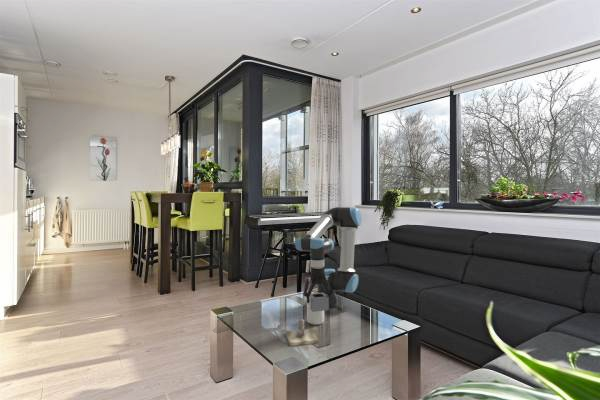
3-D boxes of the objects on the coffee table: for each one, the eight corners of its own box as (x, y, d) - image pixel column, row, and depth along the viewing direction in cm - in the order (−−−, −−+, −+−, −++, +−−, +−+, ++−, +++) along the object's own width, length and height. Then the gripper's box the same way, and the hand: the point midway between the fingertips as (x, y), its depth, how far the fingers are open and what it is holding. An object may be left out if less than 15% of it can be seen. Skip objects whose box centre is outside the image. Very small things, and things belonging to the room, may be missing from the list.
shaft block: (310, 331, 189) (310, 314, 189) (318, 342, 176) (318, 323, 175) (284, 334, 186) (284, 316, 186) (290, 346, 172) (290, 326, 172)
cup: (323, 326, 197) (323, 308, 197) (305, 324, 199) (305, 307, 199) (325, 319, 207) (325, 302, 207) (308, 318, 209) (308, 301, 209)
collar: (323, 304, 199) (323, 292, 199) (328, 310, 190) (328, 297, 190) (308, 306, 197) (308, 293, 196) (312, 311, 188) (312, 298, 188)
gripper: (334, 263, 198) (335, 303, 200) (296, 266, 193) (297, 307, 195) (338, 266, 191) (339, 307, 192) (299, 270, 186) (300, 312, 187)
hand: (318, 307), depth 193 cm, fingers closed on collar, 9 cm apart
